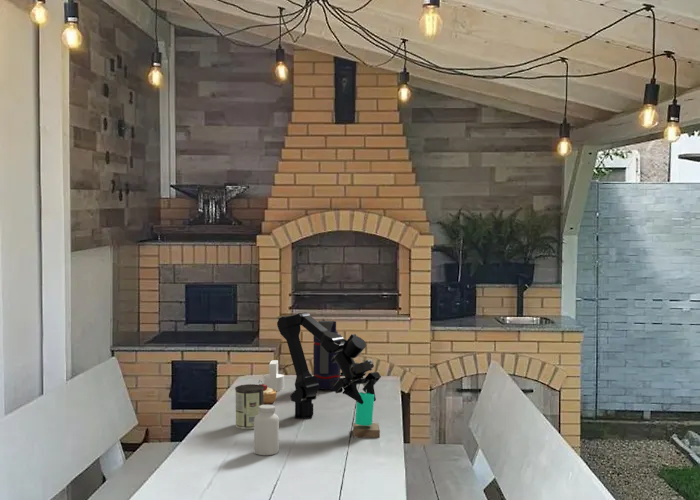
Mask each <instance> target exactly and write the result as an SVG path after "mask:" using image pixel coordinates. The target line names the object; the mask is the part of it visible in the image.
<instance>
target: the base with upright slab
mask: <svg viewBox="0 0 700 500" xmlns="http://www.w3.org/2000/svg"><path fill="white" fill-rule="evenodd" d="M268 365H269V367H268V372H269V373H267V374H264V375H263V377H262V379H263V382H262V383H263V384H266V385H267V387H268V388H271V389H273V390H274V389H275V391H278V392H281V391H280V390H282V391H284V390H285V374H281V373H279V360H277V359H274V360H273V359H272V360H270V362H269V364H268ZM283 389H284V390H283Z"/></svg>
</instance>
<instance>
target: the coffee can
mask: <svg viewBox="0 0 700 500" xmlns="http://www.w3.org/2000/svg"><path fill="white" fill-rule="evenodd" d="M234 389H235V428H238V429H240V428H241V430H254V418H255V416H256V415H257V414H259V413H258V412H259V406H261V405H264V404H263V397H264V395H263V390H264V387H263V386H261V385H259V384H251V383H249V384H241V385H237V386H235V388H234Z"/></svg>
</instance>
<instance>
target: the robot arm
mask: <svg viewBox="0 0 700 500" xmlns="http://www.w3.org/2000/svg"><path fill="white" fill-rule="evenodd" d="M276 324H277V325H276V327H277V329H278V330H279V334H280V335H281V336H282V337H283V338H284V340H285V341H286V343H287V347H288V350H289V354H290V358H291V361H292V365H293V368H294V371H295V372H294V373H295V374H296V375H295V377H296V378H295V381H294V386H295V387H294V388H295V390H294V391H293V392H292V393H291V394H290V400H291V402H293V403H294V419H312V418H313V416H314V403H313V400H314V401H315V400H316V399H317V396H318V392H320V391H319V390H320V389H319V387H318V386H319V384H318V382H317V377H316V376H315V375H314V374H311V373H310V370H309V367H308V364H307V360H306V356H305V354H304V350H303V346H302V343H301V340H300V333H301V330H302V329H301V326H302V327H303V329H306V330H307V332H309V333H310V334H311V335H312V336H313V337H314V336H315V337H316V338H317V339H319V341H320V343H321V346H322V347H323V348H324V349H325V351H326V352H328V353H334V352H338V353H337V354H336V355H333V356H332V360H331V363H337V364H338V365H339V367H340V379H339V380H338V381H337V382H336V384H335V385H334V391H333V392H335V394H340V393H342V394H343V395H346V396H348V397H350V398H352V399H353V400H355V402H356V403H357V402H359V403H360V404H363V403H364V402H363V400H362V398H361V396H360V394H359V393H360V391H359V390H358V386H357V385H363V388H362V391H363V393H370V394H372V395H373V394H374V402H375V401H376V400H377V398H376V393H375V385H376V383H377V382H379V380H380V379H381V377H382V376H381V374H380V373H379V372H378V371H373V368H374V366H375V365H374V362H373V360H372V359H366V360H364V361H363V362H360V363H359V362H355V360H354V359H355V358H357V357H358V356H359V355H360V354H361V353H362V352H363V351H364V350H365V349H366V347H367V344H366V341H365V340H364V339H363V338H361V336H360V337H359V336H357V335H356V333H354V334H353V333H352V334H351V335H349V337H348V339H345V338H344V337H343V336H342V335H341V336H340V335H338V334H337V333H333V332H330V331H328V330H327V329H326V328H325V327H323V326H322V325H321V324H320V323H318V320H316V319H315V318H314V317H313V316H311V314H310V313H309V312H298V313H296V314H293V315H292V314H291V315H290V314H289V315H283V316H280V317H279V318H278V320H277V322H276ZM369 371H373V372H369ZM367 372H369V373H368V374H367ZM343 376H344V377H343ZM364 376H365V377H364Z"/></svg>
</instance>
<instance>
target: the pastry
mask: <svg viewBox="0 0 700 500" xmlns="http://www.w3.org/2000/svg"><path fill="white" fill-rule="evenodd" d="M260 382H261V380H260V379H259V380H258V385H261V386H263V387H264V390H263V395H264V397H263V405H272V404H274V402H276V399H277V395H278V392H276V391H275V389H274V390H273V389H271V388H268V387H267V385H266V384H263V382H261V383H260Z"/></svg>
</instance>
